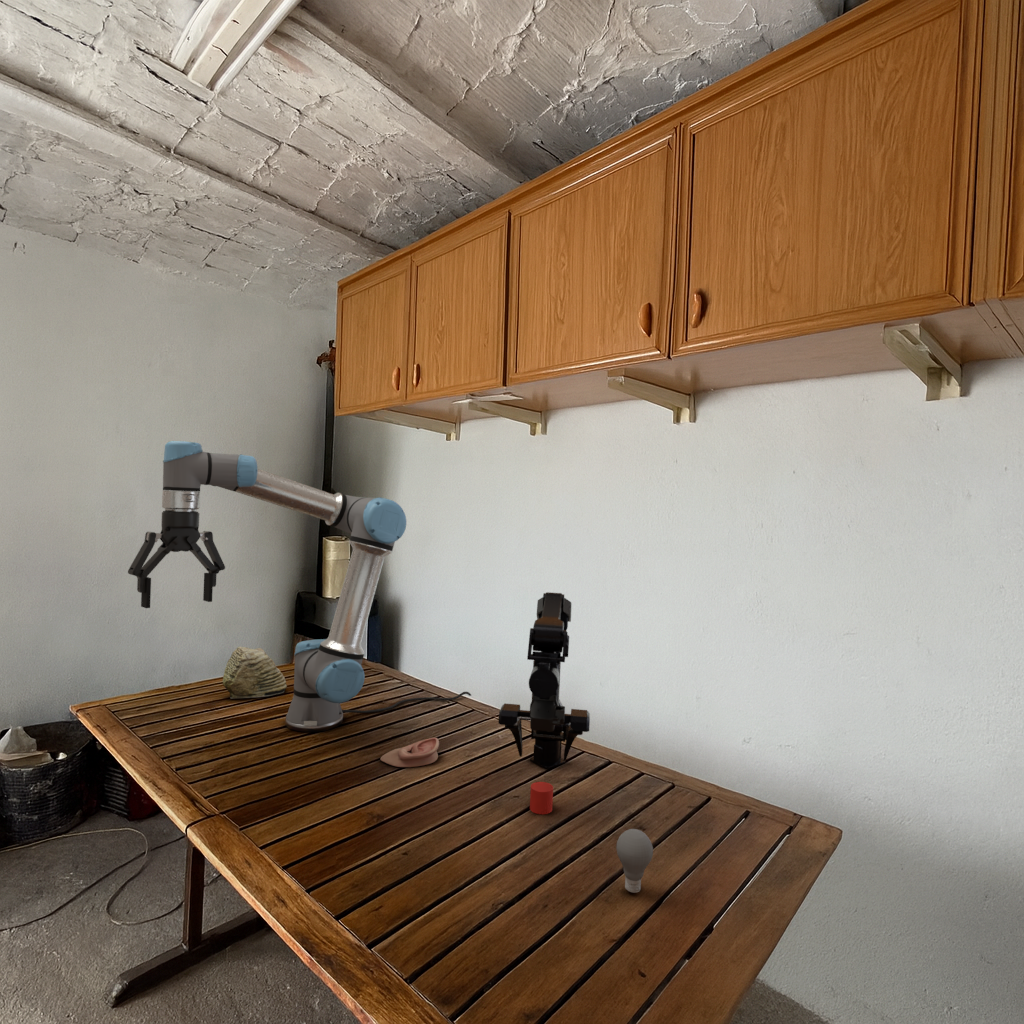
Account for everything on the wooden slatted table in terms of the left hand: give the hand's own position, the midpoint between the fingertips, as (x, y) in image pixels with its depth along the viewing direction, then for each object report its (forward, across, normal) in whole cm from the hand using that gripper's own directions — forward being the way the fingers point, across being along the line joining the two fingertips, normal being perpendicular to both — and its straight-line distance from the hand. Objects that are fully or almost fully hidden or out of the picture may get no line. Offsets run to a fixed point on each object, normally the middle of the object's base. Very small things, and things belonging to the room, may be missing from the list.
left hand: (177, 604), depth 143 cm
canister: (+38, +42, -73) cm, 92 cm away
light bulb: (+38, +30, -100) cm, 111 cm away
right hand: (+27, +42, -72) cm, 88 cm away
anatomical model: (+38, +41, -34) cm, 65 cm away
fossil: (+38, +41, +36) cm, 66 cm away
